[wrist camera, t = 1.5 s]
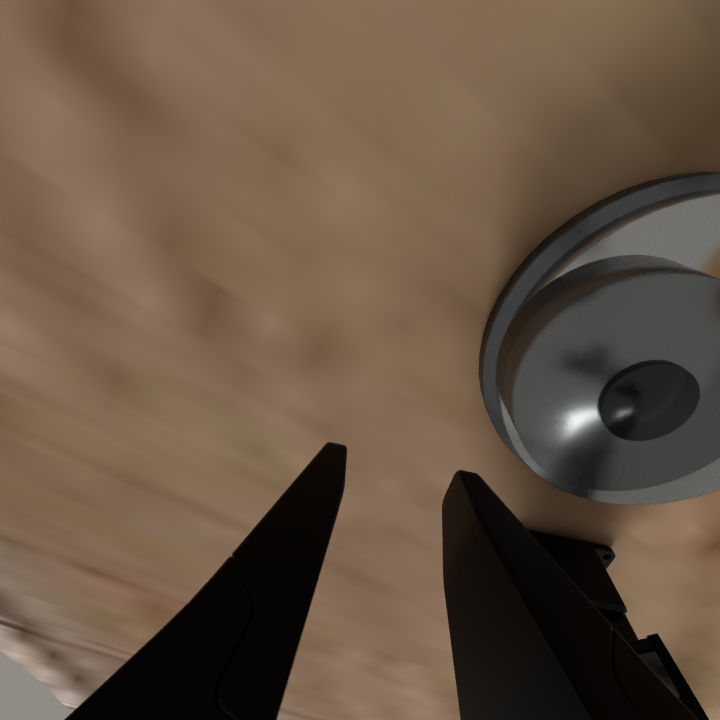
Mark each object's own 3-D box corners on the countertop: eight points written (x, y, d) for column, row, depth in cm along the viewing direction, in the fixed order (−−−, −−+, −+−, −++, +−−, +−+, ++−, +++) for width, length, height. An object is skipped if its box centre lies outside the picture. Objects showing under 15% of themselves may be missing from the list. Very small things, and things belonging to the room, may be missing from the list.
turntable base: (698, 501, 24) (710, 514, 23) (436, 444, 23) (438, 456, 22) (935, 227, 17) (965, 231, 16) (567, 125, 16) (578, 124, 15)
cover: (644, 461, 20) (691, 517, 17) (466, 421, 19) (482, 472, 16) (771, 285, 16) (864, 319, 13) (551, 228, 15) (593, 249, 12)
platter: (711, 511, 23) (785, 593, 19) (451, 455, 22) (468, 528, 18) (952, 242, 16) (1155, 277, 12) (588, 142, 15) (669, 142, 11)
